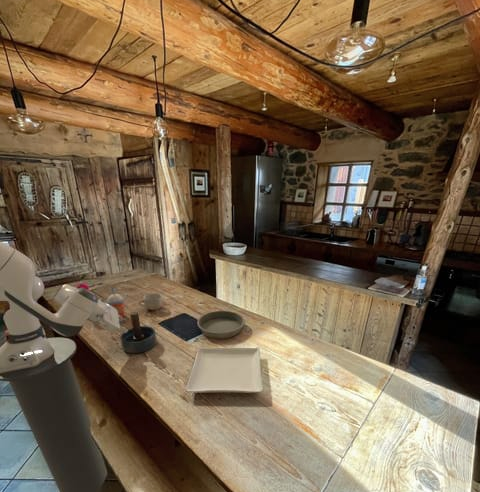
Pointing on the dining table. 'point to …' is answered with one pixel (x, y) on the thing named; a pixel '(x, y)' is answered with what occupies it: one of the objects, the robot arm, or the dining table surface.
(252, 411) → the dining table surface
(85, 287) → the pepper mill
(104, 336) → the dining table surface
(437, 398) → the dining table surface
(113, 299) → the cup with straw
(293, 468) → the dining table surface
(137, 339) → the dark brown spice grinder
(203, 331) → the cake pan
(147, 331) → the bowl
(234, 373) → the square plate
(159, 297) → the teacup
